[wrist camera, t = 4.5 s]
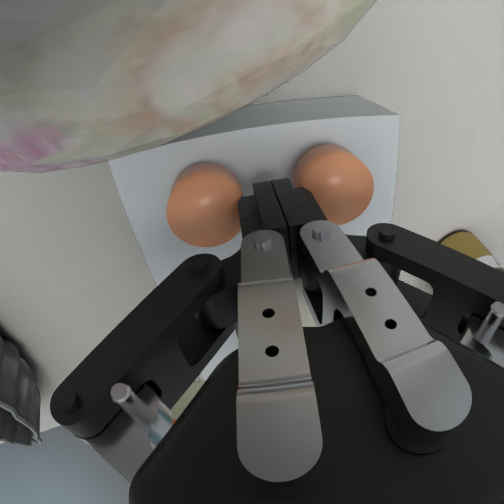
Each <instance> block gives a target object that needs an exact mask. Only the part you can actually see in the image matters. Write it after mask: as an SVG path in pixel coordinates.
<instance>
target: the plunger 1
mask: <svg viewBox="0 0 504 504" xmlns="http://www.w3.org/2000/svg"><path fill="white" fill-rule="evenodd" d="M241 197H243V192H242V188H241V185H240V182H239V180H238V179H237V177H236V176H235V175H234V174H233V173H232V172H231V171H230V170H228V169H227V168H225V167H223V166H220V165H217V164H212V163H202V164H197V165H193V166H191V167H189V168H187V169H185V170H184V171H183V172H181V173H180V174H179V175H178V177H177V178H176V179H175V181H174V183H173V185H172V188H171V192H170V196H169V200H168V204H167V209H166V216H167V221H168V224H169V227H170V228H171V230H172V231H173V233H174V234H175V235H176V236H177V237H178V238H179V239H181V240H182V241H184V242H186V243H188V244H190V245H193V246H198V247H214V246H219V245H221V244H224V243H226V242H228V241H230V240H231V239H232V238H234V237H235V236H236V235H237V234H238V233H239V231H240V230H241V225H240V219H239V212H238V205H237V204H238V202H239V200H240V199H241Z"/></svg>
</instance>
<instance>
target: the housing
mask: <svg viewBox="0 0 504 504" xmlns="http://www.w3.org/2000/svg"><path fill="white" fill-rule="evenodd" d="M398 142H399V115H398V114H396V113H394V112H392V111H390V110H388V109H386V108H384V107H382V106H380V105H378V104H376V103H374V102H371V101H369V100H367V99H365V98H363V97H360V96H342V97H325V98H312V99H300V100H291V101H282V102H273V103H266V104H258V105H251V106H245V107H243V108H241V109H239V110H237V111H235V112H233V113H231V114H229V115H227V116H225V117H223V118H221V119H219V120H218V121H216V122H214V123H212V124H210V125H207V126H205V127H202V128H200V129H197V130H195V131H193V132H190V133H188V134H185V135H183V136H181V137H178V138H176V139H174V140H172V141H169V142H167V143H165V144H163V145H160V146H158V147H156V148H153V149H149V150H145V151H142V152H138V153H134V154H131V155H127V156H124V157H121V158H117V159H114V160H110V161H108V164H109V167H110V170H111V173H112V175H113V178H114V181H115V184H116V187H117V190H118V192H119V195H120V198H121V200H122V203H123V206H124V208H125V211H126V214H127V216H128V219H129V221H130V224H131V226H132V229H133V231H134V234H135V236H136V239H137V241H138V244H139V246H140V248H141V251H142V253H143V256H144V258H145V260H146V262H147V265H148V267H149V269H150V272H151V274H152V276H153V278H154V281H155V283H156V285H157V286H158V285H159V284H160V283H161V282H162V281H163V280H164V279H165V278H166V277H167V276H168V275H170V274H171V273H172V272H173V271H174V270H175V269H176V268H177V267H178V266H179V265H180V264H181V263H182V262H183V261H184V260H186V259H187V258H189V257H191V256H194V255H197V254H202V253H207V254H213V255H215V256H217V257H218V258H219V259H220V261H221V260H223V259H225V258H228V257H230V256H232V255H233V254H235V253H236V252H237V251H238V250H239V249H240V248H241V242H242V240H243V239H242V232H241V230H240V231H239V233H238V234H237V235H236V236H235V237H234V238H232V239H231V240H230V241H228V242H226V243H224V244H221V245H219V246H214V247H198V246H193V245H190V244H188V243H186V242H184V241H182V240H181V239H179V238H178V237H177V236H176V235H175V234H174V233H173V231H172V230H171V228H170V227H169V224H168V221H167V216H166V209H167V204H168V200H169V196H170V192H171V188H172V185H173V183H174V181H175V179H176V178H177V177H178V175H179V174H180V173H181V172H183V171H184V170H185V169H187V168H189V167H191V166H193V165H197V164H202V163H212V164H217V165H220V166H223V167H225V168H227V169H228V170H230V171H231V172H232V173H233V174H234V175H235V176H236V177H237V179H238V180H239V182H240V185H241V188H242V192H243V197H245V196H250V195H254V194H253V187H252V183H257V182H263V181H270V182H271V180H276V179H282V178H289V179H290V181H291V183H292V185H293V187H294V183H293V177H294V171H295V168H296V166H297V164H298V162H299V161H300V159H301V158H302V157H303V156H304V155H305V154H306V153H307V152H308V151H310V150H311V149H313V148H315V147H318V146H321V145H326V144H334V145H339V146H342V147H344V148H346V149H348V150H349V151H350V152H351V153H352V154H354V155H355V156H356V157H357V158H358V159H359V160H360V161H361V162H362V163H363V164H364V165H365V166H366V167H367V168H368V169H369V171H370V172H371V174H372V177H373V181H374V192H373V196H372V199H371V202H370V203H369V205H368V207H367V208H366V209H365V211H364V212H363V213H362V214H361V215H360V216H358V217H357V218H356V219H354V220H352V221H351V222H348V223H346V224H343V225H338V226H339V227H340V228H341V229H342V231H343V232H344V233H345V234H348V235H359V236H366V234H367V230H368V228H369V227H370V226H372V225H374V224H377V223H390V224H391V219H392V211H393V203H394V193H395V183H396V172H397V159H398ZM236 349H238V322H237V325H236V328H235V330H234V332H233V333H232V334H231V335H230V337H229V338H228V339H227V341H226V342H225V343H224V344H223V346H222V347H221V348H220V349H219V351H218V352H217V353H216V354H215V356H214V357H213V358H212V360H211V361H210V362H209V363H208V365H207V366H206V367H205V368H204V370H203V371H202V372H201V375H202V377H203V379H204V380H205V381H206V380H207V378H208V377H209V376H210V374H211V373H212V371H213V370H214V369H215V368H216V366H217V365H218V364H219V363H220V362H221V361H222V360H223V359H224V358H225V357H226V356H228V355H229V354H230V353H232V352H233V351H235V350H236Z"/></svg>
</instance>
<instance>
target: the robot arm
mask: <svg viewBox="0 0 504 504" xmlns="http://www.w3.org/2000/svg"><path fill="white" fill-rule="evenodd" d="M252 187H253V194H254V195H250V196H245V197H241V199H240V200H239V202H238V204H237V205H238V212H239V219H240V225H241V232H242V239H243V240H242V242H241V248H240V249H239V250H238V251H237V252H236V253H235V254H233V255H232V256H230V257H228V258H225V259H223V260H221V261H220V259H219V258H218V257H217V256H215V255H213V254H207V253H202V254H197V255H194V256H191V257H189V258H187V259H186V260H184V261H183V262H182V263H181V264H180V265H179V266H178V267H177V268H176V269H175V270H174V271H173V272H172V273H171V274H170V275H168V276H167V277H166V278H165V279H164V280H163V281H162V282H161V283H160V284H159V285H158V286H157V287H156V288H155V289H154V290H153V291H152V292H151V293H150V294H149V295H148V296H147V297H146V298H145V299H144V300H143V301H142V302H141V303H140V304H139V305H138V306H137V307H136V308H135V309H134V310H132V311H131V312H130V313H129V314H128V315H127V316H126V317H125V318H124V319H123V320H122V321H121V322H120V323H119V324H118V325H117V326H116V327H115V328H114V329H113V330H112V331H111V332H110V333H109V334H108V335H107V336H106V338H105V339H104V340H103V341H102V342H101V343H100V344H99V345H98V346H97V347H96V348H95V349H94V350H93V351H92V352H91V353H90V354H89V355H88V356H87V357H86V358H85V359H84V360H83V361H82V362H81V363H80V364H79V365H78V366H77V367H76V368H75V369H74V371H73V372H72V373H71V374H70V375H69V376H68V377H67V378H66V379H65V380H64V381H63V382H62V383H61V384H60V385H59V386H58V388H57V389H56V390H55V392H54V393H53V395H52V398H51V402H50V410H51V414H52V416H53V418H54V419H55V421H57V422H58V423H59V424H60V425H62V426H63V427H65V428H66V429H68V430H69V431H70V432H72V433H73V435H74V436H76V437H77V438H79V439H80V440H82V441H83V442H85V443H87V444H88V445H90V446H91V447H93V448H94V449H95V450H96V451H97V452H98V453H99V454H100V455H101V456H102V457H103V458H104V459H105V460H106V461H107V462H108V463H109V464H110V465H111V466H112V467H113V468H114V469H115V470H116V471H117V472H118V473H119V474H121V475H122V476H123V477H124V478H125V479H126V480H127V481H128V482H130V483H131V486H130V490H129V504H504V272H502V271H500V270H498V269H495V268H493V267H491V266H489V265H487V264H485V263H483V262H481V261H478V260H476V259H474V258H472V257H470V256H468V255H465V254H463V253H461V252H459V251H456V250H454V249H452V248H449V247H447V246H445V245H443V244H440V243H438V242H436V241H433V240H431V239H428V238H426V237H424V236H421V235H419V234H416V233H414V232H411V231H409V230H406V229H404V228H401V227H399V226H396V225H393V224H390V223H377V224H374V225H372V226H370V227H369V228H368V230H367V234H366V236H359V235H348V234H345V233H344V232H343V231H342V229H341V228H340V227H339V226H338V225H337V224H335V223H333V222H330V221H328V220H327V218H326V216H325V215H324V213H323V211H322V209H321V208H320V206H319V205H318V203H317V201H316V200H315V198H314V196H313V194H312V193H311V192H310V191H309V190H307V189H305V188H304V187H299V188H294V187H293V185H292V183H291V181H290V179H289V178H282V179H276V180H271V182H270V181H263V182H257V183H252ZM401 270H403V271H405V272H407V273H409V274H411V275H414V276H416V277H418V278H420V279H422V280H424V281H426V282H428V283H429V284H430V285H431V286H432V288H433V295H431V294H428V293H426V292H424V291H422V290H420V289H417V288H415V287H413V286H411V285H409V284H407V283H405V282H403V281H401V280H399V275H400V271H401ZM291 274H292V276H291ZM299 278H301V281H302V288H303V296H304V298H305V301H306V303H307V305H308V308H309V310H310V312H311V315H312V317H313V320H314V322H315V324H316V327H302V322H301V316H300V311H299V305H298V300H297V295H296V290H295V284H294V279H299ZM237 322H238V349H236V350H235V351H233V352H232V353H230V354H229V355H228V356H226V357H225V358H224V359H223V360H222V361H221V362H220V363H219V364H218V365H217V366H216V368H215V369H214V370H213V371H212V373H211V374H210V376H209V377H208V378H207V380H206V381H205V382H204V384H203V385H202V387H201V388H200V389H199V391H198V392H197V393H196V395H195V396H194V397H193V399H192V400H191V401H190V403H189V404H188V405H187V407H186V408H185V409H184V411H183V412H182V413H181V415H180V416H179V417H178V419H177V420H176V421H175V423H174V424H173V425H172V423H173V417H172V413H171V411H170V410H171V409H172V408H173V406H174V405H175V404H176V403H177V402H178V400H179V399H180V398H181V397H182V395H183V394H184V393H185V392H186V391H187V389H188V388H189V387H190V386H191V384H192V383H193V382H194V381H195V379H196V378H197V377H198V376H199V375H200V373H201V372H202V371H203V370H204V368H205V367H206V366H207V365H208V363H209V362H210V361H211V360H212V358H213V357H214V356H215V354H216V353H217V352H218V351H219V349H220V348H221V347H222V346H223V344H224V343H225V342H226V341H227V339H228V338H229V337H230V335H231V334H232V333H233V332H234V330H235V328H236V325H237Z"/></svg>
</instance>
